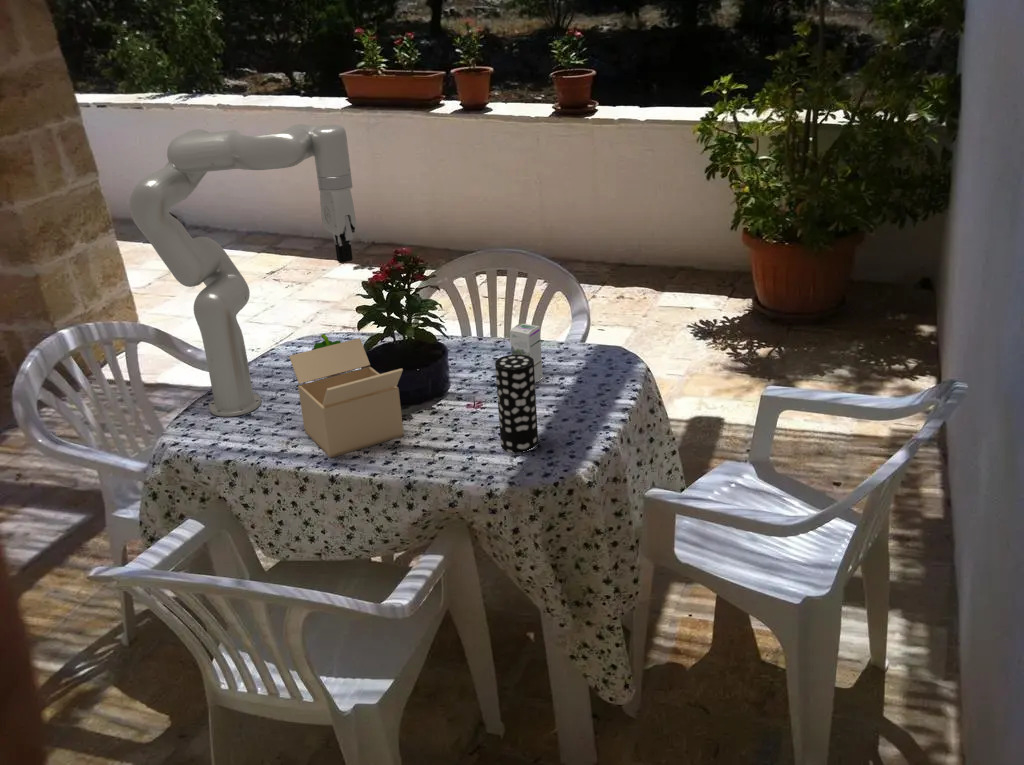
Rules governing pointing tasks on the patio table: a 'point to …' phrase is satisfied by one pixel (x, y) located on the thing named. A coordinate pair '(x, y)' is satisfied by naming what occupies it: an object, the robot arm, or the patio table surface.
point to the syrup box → (528, 345)
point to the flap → (329, 360)
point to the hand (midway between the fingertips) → (345, 260)
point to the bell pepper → (325, 342)
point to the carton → (350, 415)
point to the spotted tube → (516, 402)
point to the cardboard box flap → (362, 387)
